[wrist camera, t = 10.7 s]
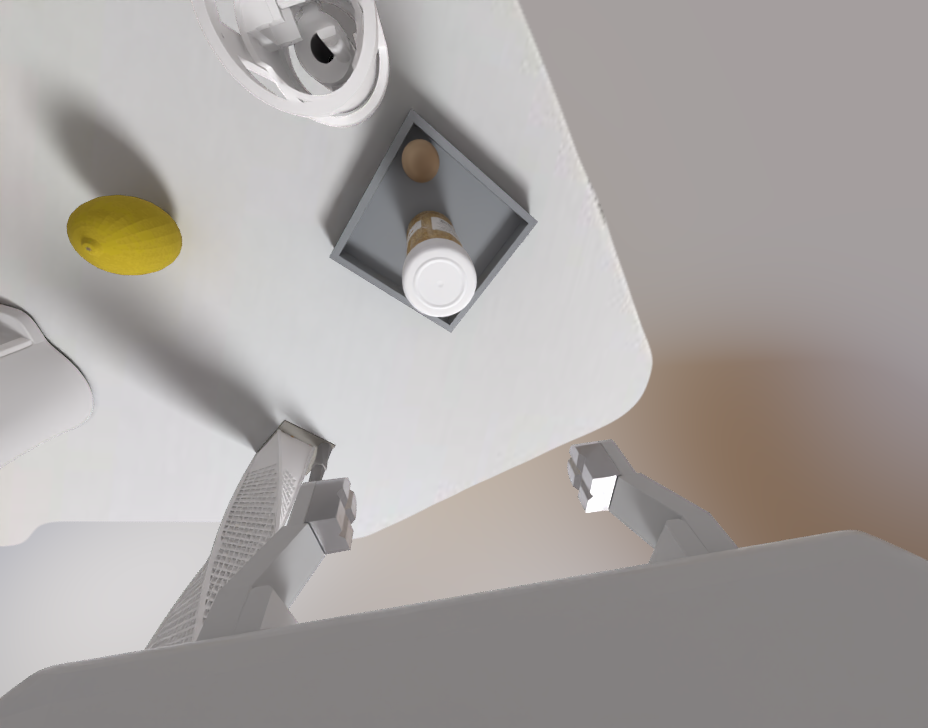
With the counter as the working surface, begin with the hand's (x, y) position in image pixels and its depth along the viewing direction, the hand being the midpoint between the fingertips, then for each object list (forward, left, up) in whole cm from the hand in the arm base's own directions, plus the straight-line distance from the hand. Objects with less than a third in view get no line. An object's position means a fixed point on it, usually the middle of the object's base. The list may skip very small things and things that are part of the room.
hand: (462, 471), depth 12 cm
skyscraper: (-2, -30, -26) cm, 40 cm away
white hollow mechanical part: (-14, +8, -26) cm, 30 cm away
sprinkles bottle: (-2, +3, -25) cm, 25 cm away
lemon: (-21, -10, -26) cm, 35 cm away
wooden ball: (-6, +7, -23) cm, 25 cm away
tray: (-2, +3, -25) cm, 26 cm away
